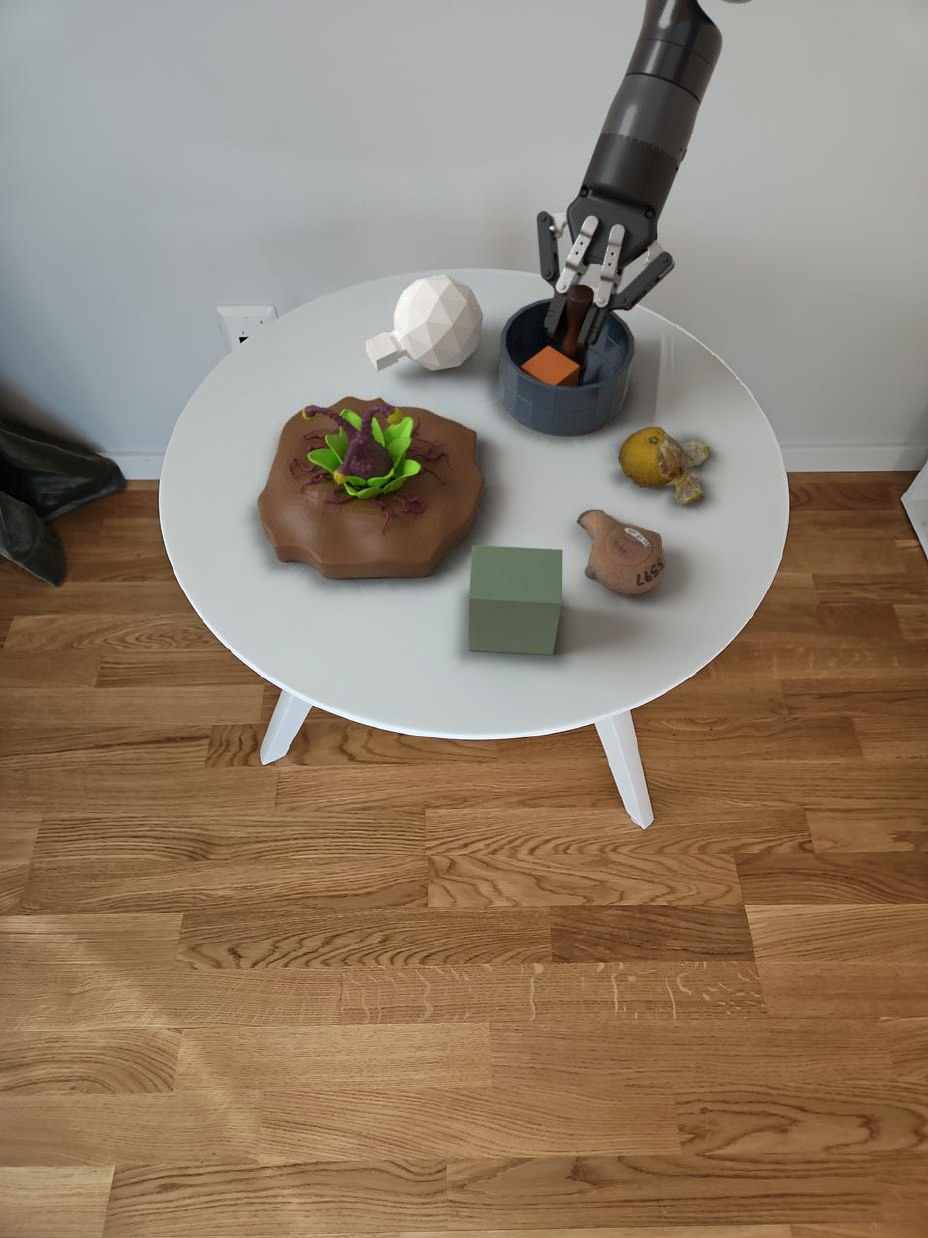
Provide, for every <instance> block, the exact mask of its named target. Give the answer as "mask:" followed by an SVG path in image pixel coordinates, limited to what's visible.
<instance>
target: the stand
mask: <svg viewBox="0 0 928 1238" xmlns="http://www.w3.org/2000/svg"><path fill="white" fill-rule="evenodd" d="M468 588H469V589H468V612H467V613H468V614H467V615H468V616H467V617H468V620H467V623H468V627H467V628H468V631H467V635H468V636H467V650H468V651H471V652H473V651H474V652H490V653H491V652H492V653H510V654H525V655H527V654H529V655H542V656H543V655H546V656H553V655H554V651H555V645H556V640H557V633H558V628H559V623H560V617H561V611H562V606H563V550H562V549H557V548H556V549H554V548H537V547H536V548H535V547H517V546H515V547H514V546H499V545H497V546H496V545H480V544H479V545H477V544H473V545H472V546H471V560H470V574H469V587H468Z"/></svg>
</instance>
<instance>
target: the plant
mask: <svg viewBox="0 0 928 1238" xmlns="http://www.w3.org/2000/svg"><path fill="white" fill-rule="evenodd" d="M477 449H478V433H477V431H476V430H474V429H472V428H470V427H467V426H465V425H464V424H463V423H460V422H458V421H455V420H454V419H453V420H452V419H450V418H447V417H444V416H441V415H439V414H437V413H434V411H433V412H432V411H430V410H428V409H425V408H422V407H415V406H396V405H392V404H390V403H388V402H387V401H385V400H383V399H382V398H381V396H379V397H377V398H374V399H369V400H365V399H360V398H358V397H355V396H352V395H351V396H350V395H349V396H348V395H347V396H344V397H343V398H341V399H340V400H338V401H337V402H335V403H334V404H332V405H330V406H328V407H324V406H322V407H321V406H319V405H315V404H310V405H307V406H305V407H304V408H302V409H301V410H299V411H298V412H296V413H295V414H293V415H292V417H290V418H289V419H288V420H287V421H286V423H285V424H284V426H283V427H282V430H281V433H280V436H279V439H278V444H277V450H276V453H275V456H274V459H273V462H272V465H271V468H270V471H269V474H268V477H267V481H266V484H265V486H264V487H263V490H262V491H261V492H260V494H259V495H258V497H257V507H258V511H259V515H260V516H259V517H260V523H261V526H262V529H263V533H264V535H265V537H266V539H267V540H268V542H269V543H270V544H271V545H272V547H273V549H274V552H275V555H276V558H277V560H278V561H279V562H291V561H297V562H301V563H305V564H307V565H309V566H311V567H313V569H315V570H316V571H317V572H318V573H319V574H320V575H321V576H322V577H324V578H327V579H335V580H337V579H360V578H361V579H363V578H364V579H365V578H383V577H384V578H385V577H387V578H388V577H394V578H417V577H419V578H420V577H427V576H430V575H432V574H433V572H434V571H435V570H436V569H437V568H438V566H439V565H440V564H441V562H442V561H443V560H444V559H445V557H446V556H447V555H448V554H449V553H450V552H451V551H452V550H453V549H455V548H457V547H459V546H460V545H461V544H462V543H463V542H465V540H466V538H467V536H468V535H469V534H470V532H471V530H472V528H473V526H474V524H475V520H476V516H477V512H478V510H479V507H480V504H481V501H482V499H483V498H482V497H483V495H484V484H485V483H484V481H485V476H484V474H483V473H482V471H481V469H480V467H479V465H478V462H477V455H476V452H477Z"/></svg>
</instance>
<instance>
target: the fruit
mask: <svg viewBox="0 0 928 1238" xmlns="http://www.w3.org/2000/svg"><path fill="white" fill-rule="evenodd" d="M709 448H710V447H709V445H707V444H706V443H705V442H703V441H702V440H698V439H692V440H689V441H684V442H678V441H676V439H674V438H673V437H672V436H670V435H669V433H667V432H666V430H664V429H663V428H662V427H661V426H647V427H643V428H641V429H639V430H637V431H635V432H632V433H631V434H630V435H629V436H628V438H626V439H625V441H624V442H623V443H622V445H621V446H620V449H619V453H618V455H617V459H618V463H619V465H620V468H621V471H622V472H623V473H624V477H627V478H630V479H631V481H632V483H634V484H635V485H637V486H639V487H640V488H642V487H646V488H654V489H659V488H660V487H662V486H664V485H667V486H674V487H675V493H674V496H673V497H674V500H675V501H676V502H677V504H680V505H686V504H687V503H691V502H693V503H694V502H697V501H699V500H700V499H702V498H703V497H704V496H705V493H704V491H703V490H702V486H701V484H699V476H698V475H697V474H693V473H692V472H689V471H687V470H684V469H683V468H685V467H689V468H691V467H694V466H698V465H701V464H702V463H703V462H704V461H706V459H707V458H708V457H709V456H710V452H709Z"/></svg>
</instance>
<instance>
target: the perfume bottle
mask: <svg viewBox="0 0 928 1238" xmlns="http://www.w3.org/2000/svg"><path fill="white" fill-rule="evenodd" d="M483 319H484V313H483V311H482V308H481V305H480V303H479V301H478V299H477V297H476V295H475V294H474V292H473V290H472V288H471V287H470V286H469V285H466V284H465V283H463V282H461V281H459V280H457V279H455V278H453V277H451V276H450V275H447V274H446V273H442V274H437V275H434V276H428V277H424V278H418V279H416V280H415V281H414V282H412V283H411V284H410V285H409V286H408V287H406V288H405V289H404V290H403V291H402V293H401V295H400V297H399V299H398V300H397V304H396V307H395V310H394V313H393V326H394V327H393V329H394V330H392V331H390V332H388V331H383V332H382V333H379V334H377V335H376V336H375V335H374V336H373V337H371V338H368V339H366V340H365V341H364V342H365V350H366V354H367V356H368V358H369V360H370V361H371V363H372V365H373V367H374V368H375V370H376V371H377V373H378V372H380V371H382V370H384V369H386V368H388V367H390V366H391V367H392V366H393V365H395V364H396V363H399V360H400V359H402V358H403V357H406V358H407V359H409V360H412V361H413V362H414V363H417V364H418V365H420V366H422V367H423V368H426V369H428V370H430V371H439V370H445V369H451V368H455V367H460V366H461V365H462V364H464V362H466V360H467V359H468V358H469V357H470V356H471V355H472V354H473V353H474V352H475V351H476V349H477V348H478V347H479V346H480V341H481V335H482V328H483Z"/></svg>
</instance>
